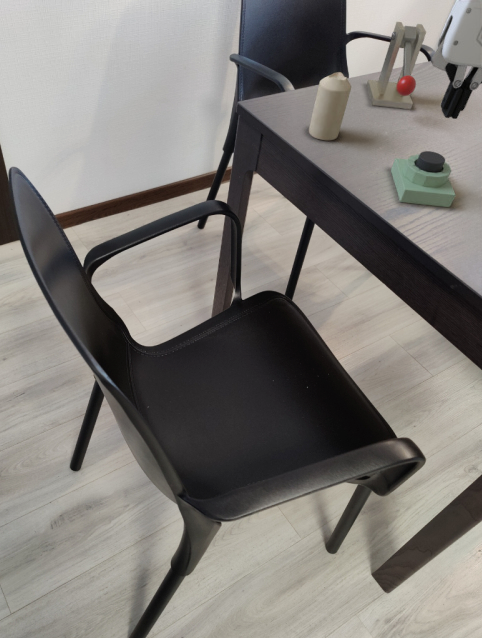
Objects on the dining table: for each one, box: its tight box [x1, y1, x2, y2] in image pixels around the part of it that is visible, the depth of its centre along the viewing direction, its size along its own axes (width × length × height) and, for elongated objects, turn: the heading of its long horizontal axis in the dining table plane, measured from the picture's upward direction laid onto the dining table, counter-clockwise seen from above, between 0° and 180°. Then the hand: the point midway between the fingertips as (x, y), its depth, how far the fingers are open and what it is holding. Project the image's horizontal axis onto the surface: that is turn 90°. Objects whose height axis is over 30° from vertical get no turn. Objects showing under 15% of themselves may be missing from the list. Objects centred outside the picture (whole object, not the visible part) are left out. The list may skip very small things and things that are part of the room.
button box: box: [390, 153, 456, 208], centre depth 82 cm, size 8×10×4 cm
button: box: [416, 150, 446, 173], centre depth 80 cm, size 4×4×2 cm
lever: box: [396, 25, 417, 96], centre depth 96 cm, size 14×3×3 cm, turn 175°
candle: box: [308, 71, 352, 141], centre depth 90 cm, size 6×6×10 cm
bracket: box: [366, 21, 427, 110], centre depth 101 cm, size 10×8×13 cm
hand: (448, 114), depth 74 cm, fingers closed
